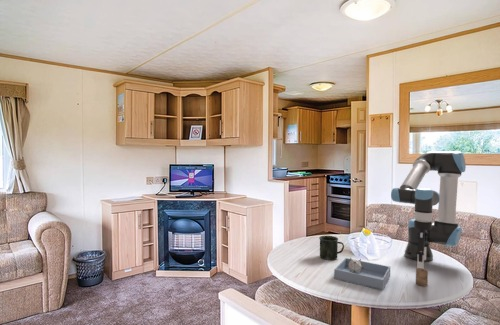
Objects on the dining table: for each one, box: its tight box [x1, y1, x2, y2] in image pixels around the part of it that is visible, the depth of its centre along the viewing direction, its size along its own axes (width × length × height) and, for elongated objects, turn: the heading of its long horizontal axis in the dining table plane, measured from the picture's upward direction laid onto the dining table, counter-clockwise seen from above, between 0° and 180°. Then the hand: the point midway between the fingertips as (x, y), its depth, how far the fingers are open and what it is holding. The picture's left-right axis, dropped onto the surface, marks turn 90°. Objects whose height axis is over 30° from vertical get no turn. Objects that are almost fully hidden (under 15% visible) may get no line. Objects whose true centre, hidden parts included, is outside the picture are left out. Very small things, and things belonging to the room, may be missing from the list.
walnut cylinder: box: [415, 268, 429, 287], centre depth 151 cm, size 5×5×7 cm
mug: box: [318, 235, 345, 261], centre depth 187 cm, size 11×15×12 cm
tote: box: [333, 257, 391, 291], centre depth 159 cm, size 19×23×5 cm
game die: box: [347, 257, 364, 274], centre depth 161 cm, size 9×8×10 cm
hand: (421, 263), depth 150 cm, fingers open, 13 cm apart
